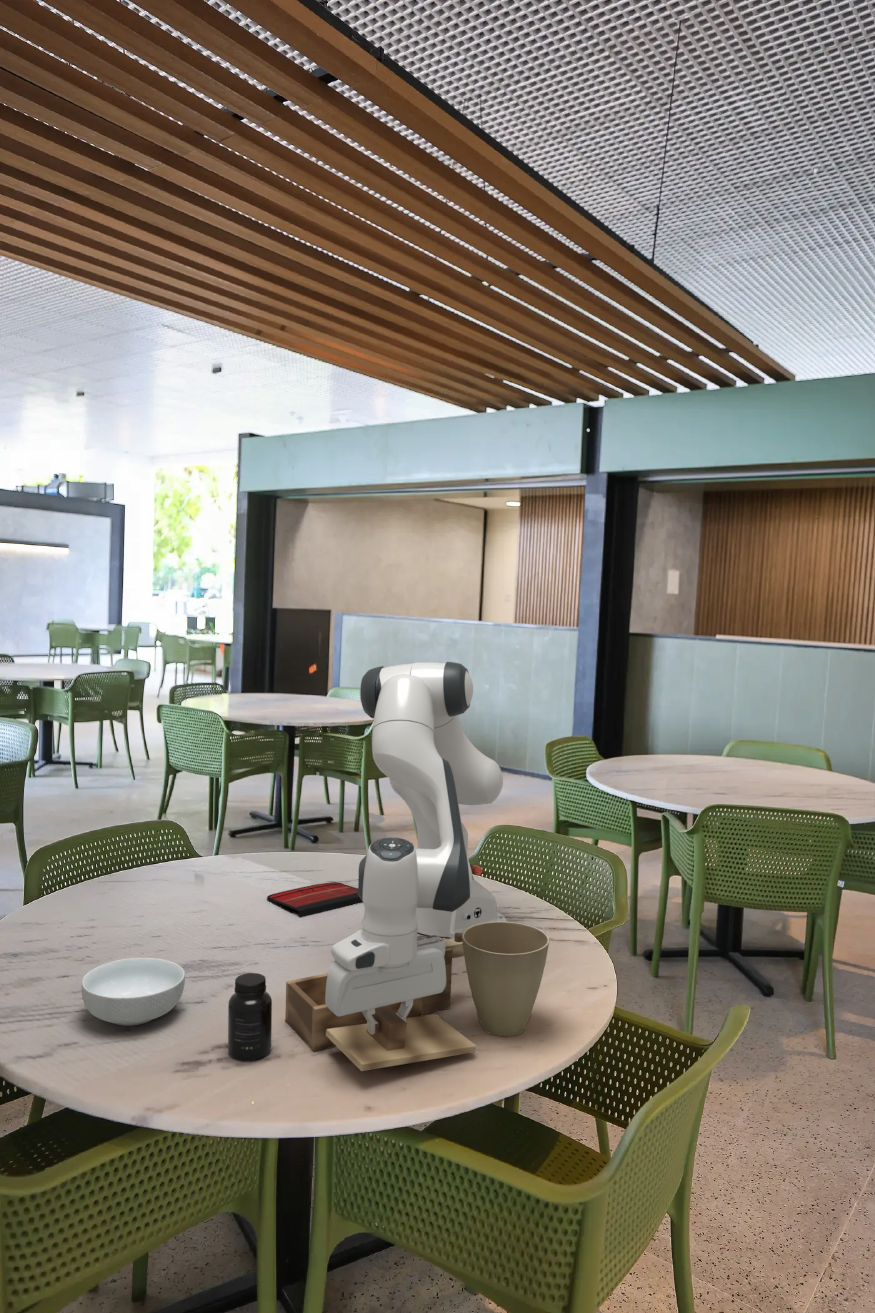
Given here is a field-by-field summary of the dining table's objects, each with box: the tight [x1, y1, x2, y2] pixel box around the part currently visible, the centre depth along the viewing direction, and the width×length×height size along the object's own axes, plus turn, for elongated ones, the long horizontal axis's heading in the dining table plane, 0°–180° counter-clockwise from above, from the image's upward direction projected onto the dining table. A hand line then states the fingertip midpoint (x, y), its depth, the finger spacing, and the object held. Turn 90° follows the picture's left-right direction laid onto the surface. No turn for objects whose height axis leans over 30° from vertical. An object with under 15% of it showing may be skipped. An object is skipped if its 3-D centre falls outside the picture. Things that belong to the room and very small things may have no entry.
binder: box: [266, 881, 363, 919], centre depth 222 cm, size 16×2×21 cm
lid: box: [326, 1006, 477, 1072], centre depth 148 cm, size 21×13×6 cm, turn 122°
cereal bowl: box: [81, 957, 186, 1027], centre depth 159 cm, size 17×17×7 cm
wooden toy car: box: [443, 933, 464, 959], centre depth 168 cm, size 9×3×4 cm, turn 122°
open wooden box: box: [284, 948, 453, 1053], centre depth 161 cm, size 28×12×11 cm, turn 122°
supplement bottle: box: [227, 972, 273, 1062], centre depth 148 cm, size 7×7×12 cm
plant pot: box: [462, 921, 550, 1037], centre depth 159 cm, size 15×15×16 cm
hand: (386, 1029), depth 147 cm, fingers closed on lid, 3 cm apart
